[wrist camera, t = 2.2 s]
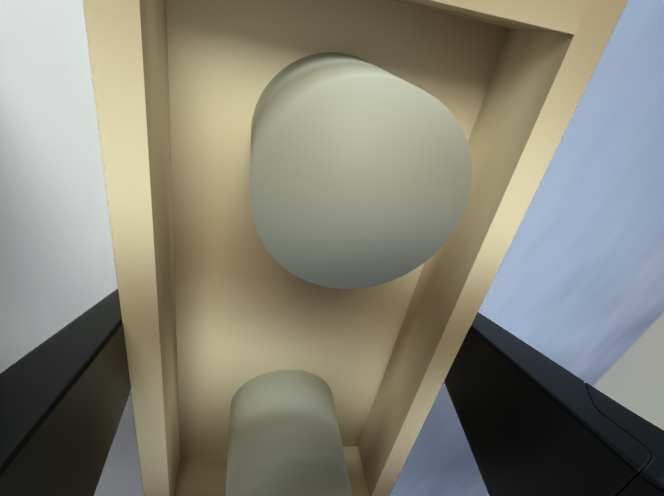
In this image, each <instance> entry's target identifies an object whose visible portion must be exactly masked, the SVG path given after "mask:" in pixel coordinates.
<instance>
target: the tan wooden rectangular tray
mask: <svg viewBox="0 0 664 496" xmlns="http://www.w3.org/2000/svg"><path fill="white" fill-rule="evenodd" d="M627 2H628V0H83V7H84V15H85V23H86V31H87V39H88V48H89V56H90V64H91V72H92V80H93V88H94V96H95V104H96V112H97V121H98V129H99V137H100V145H101V153H102V161H103V169H104V177H105V185H106V194H107V202H108V210H109V218H110V226H111V234H112V242H113V250H114V259H115V267H116V275H117V283H118V291H119V299H120V307H121V315H122V323H123V327H124V335H125V343H126V351H127V359H128V367H129V375H130V383H131V396H132V405H133V413H134V421H135V429H136V437H137V445H138V453H139V461H140V469H141V478H142V486H143V494H144V496H389V495H390V493H391V491H392V489H393V486H394V484H395V482H396V480H397V478H398V476H399V474H400V472H401V470H402V468H403V466H404V464H405V462H406V460H407V457H408V455H409V453H410V451H411V449H412V447H413V445H414V443H415V441H416V439H417V437H418V435H419V433H420V431H421V428H422V426H423V424H424V422H425V420H426V418H427V416H428V414H429V412H430V410H431V408H432V406H433V404H434V402H435V399H436V397H437V395H438V393H439V391H440V389H441V387H442V385H443V383H444V380H445V378H446V376H447V374H448V372H449V370H450V367H451V365H452V363H453V361H454V359H455V357H456V355H457V353H458V351H459V349H460V347H461V345H462V342H463V340H464V338H465V336H466V334H467V332H468V330H469V328H470V327H471V325H472V323H473V321H474V319H475V317H476V314H477V312H478V310H479V308H480V306H481V304H482V302H483V300H484V298H485V296H486V294H487V292H488V290H489V288H490V285H491V283H492V281H493V279H494V277H495V275H496V273H497V271H498V269H499V267H500V265H501V263H502V261H503V259H504V256H505V254H506V252H507V250H508V248H509V246H510V244H511V242H512V240H513V238H514V236H515V234H516V232H517V230H518V227H519V225H520V223H521V221H522V219H523V217H524V215H525V213H526V211H527V209H528V207H529V205H530V203H531V200H532V198H533V196H534V194H535V192H536V190H537V188H538V186H539V184H540V182H541V180H542V178H543V176H544V174H545V171H546V169H547V167H548V165H549V163H550V161H551V159H552V157H553V155H554V153H555V151H556V149H557V147H558V145H559V142H560V140H561V138H562V136H563V134H564V132H565V130H566V128H567V126H568V124H569V122H570V120H571V118H572V116H573V113H574V111H575V109H576V107H577V105H578V103H579V101H580V99H581V97H582V95H583V93H584V91H585V89H586V87H587V84H588V82H589V80H590V78H591V76H592V74H593V72H594V70H595V68H596V66H597V64H598V62H599V60H600V58H601V55H602V53H603V51H604V49H605V47H606V45H607V43H608V41H609V39H610V37H611V35H612V33H613V31H614V28H615V26H616V24H617V22H618V20H619V18H620V16H621V14H622V12H623V10H624V8H625V6H626V4H627Z"/></svg>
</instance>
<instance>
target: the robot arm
mask: <svg viewBox="0 0 664 496" xmlns="http://www.w3.org/2000/svg"><path fill="white" fill-rule="evenodd" d="M444 381H445V384H446V387H447V390H448V392H449V395H450V397H451V400H452V402H453V405H454V408H455V410H456V413H457V415H458V418H459V420H460V423H461V425H462V428H463V430H464V433H465V435H466V438H467V440H468V443H469V445H470V448H471V450H472V453H473V455H474V458H475V460H476V463H477V465H478V468H479V471H480V473H481V476H482V478H483V481H484V483H485V486H486V488H487V491H488V493H489V496H664V430H662V429H660V428H658V427H657V426H655V425H653V424H652V423H650V422H648V421H647V420H645V419H643V418H642V417H640V416H638V415H637V414H635V413H633V412H631V411H630V410H628V409H627V408H625V407H624V406H622V405H620V404H619V403H617V402H616V401H614V400H612V399H611V398H609V397H608V396H606V395H605V394H603V393H601V392H600V391H598V390H597V389H595V388H594V387H592V386H591V385H589V384H588V383H584V381H583V380H581V379H580V378H578V377H577V376H575V375H574V374H572V373H571V372H569V371H568V370H566V369H565V368H563V367H562V366H560V365H558V364H557V363H555V362H554V361H552V360H551V359H549V358H548V357H546V356H545V355H543V354H542V353H540V352H538V351H537V350H535V349H534V348H532V347H531V346H529V345H528V344H526V343H525V342H523V341H522V340H520V339H519V338H517V337H515V336H514V335H512V334H511V333H509V332H508V331H506V330H505V329H503V328H502V327H500V326H499V325H497V324H496V323H494V322H492V321H491V320H489V319H488V318H486V317H485V316H483V315H482V314H480V313H479V312H477V314H476V317H475V319H474V321H473V323H472V325H471V327H470V328H469V330H468V332H467V334H466V336H465V338H464V340H463V342H462V345H461V347H460V349H459V351H458V353H457V355H456V357H455V359H454V361H453V363H452V365H451V367H450V370H449V372H448V374H447V376H446V378H445V380H444ZM130 389H131V383H130V375H129V367H128V359H127V351H126V343H125V335H124V327H123V323H122V315H121V307H120V299H119V291H118V289H116V290H115V291H114V292H112V293H111V294H110V295H108V296H107V297H105V298H104V299H103V300H101V301H100V302H98V303H97V304H96V305H94V306H93V307H92V308H90V309H89V310H87V311H86V312H85V313H83V314H82V315H81V316H79V317H78V318H76V319H75V320H74V321H72V322H71V323H69V324H68V325H67V326H65V327H64V328H63V329H61V330H60V331H58V332H57V333H56V334H54V335H53V336H51V337H50V338H49V339H47V340H46V341H45V342H43V343H42V344H40V345H39V346H38V347H36V348H35V349H34V350H32V351H31V352H29V353H28V354H27V355H25V356H24V357H22V358H21V359H20V360H18V361H17V362H16V363H14V364H13V365H11V366H10V367H9V368H7V369H6V370H5V371H3V372H2V373H0V496H94V493H95V490H96V487H97V484H98V482H99V479H100V476H101V473H102V470H103V467H104V465H105V462H106V459H107V456H108V453H109V450H110V447H111V445H112V442H113V439H114V436H115V433H116V430H117V428H118V425H119V422H120V419H121V416H122V413H123V411H124V408H125V405H126V402H127V399H128V396H129V393H130Z"/></svg>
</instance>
